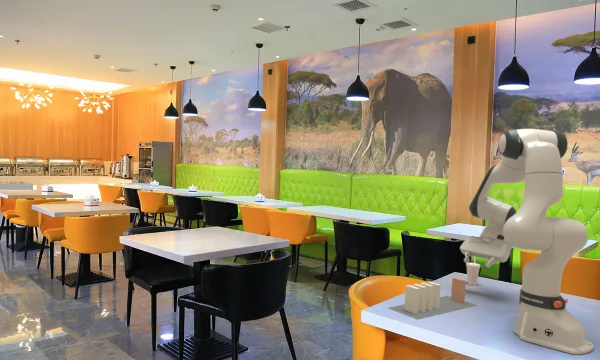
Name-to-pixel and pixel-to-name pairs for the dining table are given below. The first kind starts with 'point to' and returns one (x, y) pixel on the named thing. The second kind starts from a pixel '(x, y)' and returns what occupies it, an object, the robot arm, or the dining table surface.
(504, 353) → the dining table surface
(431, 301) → the ivory domino
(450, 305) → the rubber mat
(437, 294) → the ivory domino
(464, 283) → the terracotta domino
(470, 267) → the smoothie
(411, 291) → the ivory domino
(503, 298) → the dining table surface
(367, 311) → the dining table surface
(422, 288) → the ivory domino
